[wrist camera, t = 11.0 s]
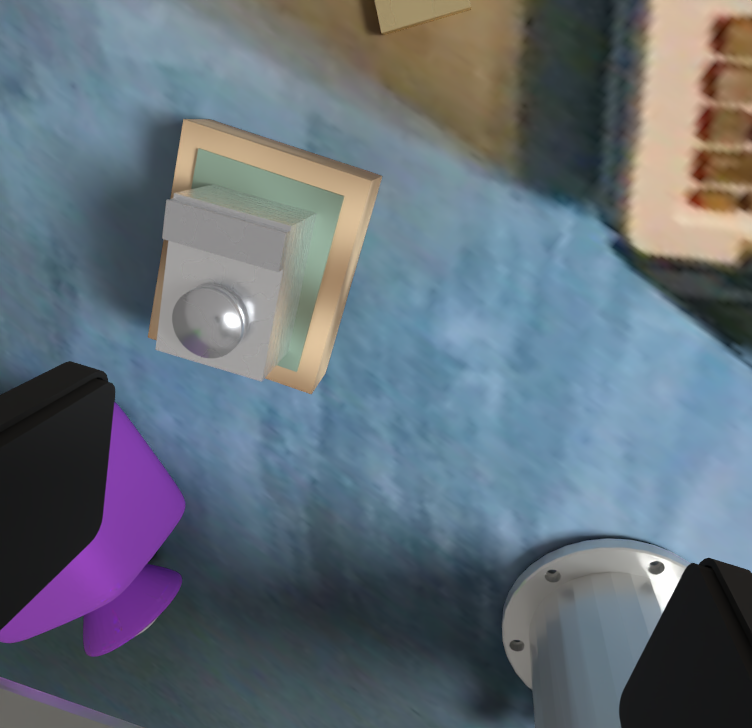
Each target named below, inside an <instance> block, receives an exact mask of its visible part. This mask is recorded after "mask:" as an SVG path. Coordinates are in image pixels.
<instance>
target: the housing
mask: <svg viewBox="0 0 752 728" xmlns="http://www.w3.org/2000/svg"><path fill="white" fill-rule="evenodd" d="M316 215H317V213H315V212H311V211H307V210H304V209H300V208H297V207H293V206H290V205H286V204H282V203H279V202H275V201H272V200H268V199H264V198H261V197H257V196H254V195H250V194H247V193H243V192H239V191H236V190H232V189H229V188H225V187H221V186H218V185H214V184H213V185H208V186H204V187H199V188H195V189H190V190H186V191H181V192H177V193H174V197H173V198H171V199H167V200H166V208H165V217H164V226H163V235H162V239H165V240H168V248H167V257H166V265H165V274H164V282H163V291H162V299H161V308H160V316H159V325H158V334H157V342H156V350H158V351H161V352H165V353H168V354H172V355H175V356H178V357H182V358H185V359H188V360H192V361H195V362H198V363H202V364H205V365H208V366H212V367H215V368H218V369H222V370H225V371H228V372H232V373H235V374H238V375H242V376H245V377H248V378H252V379H255V380H258V381H263V380H264V379H265V377H266V376H267V375H268V374H269V373H270V372H271V371H272V370H273V368H274V367H275V366H276V365H277V364H278V363H279V362H280V361H281V359H282V358H283V357H284V356H285V355H286V354H287V353H288V351H289V347H290V342H291V337H292V332H293V327H294V322H295V317H296V312H297V307H298V303H299V298H300V293H301V288H302V283H303V278H304V273H305V268H306V263H307V259H308V254H309V249H310V244H311V239H312V234H313V229H314V224H315V219H316Z"/></svg>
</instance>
